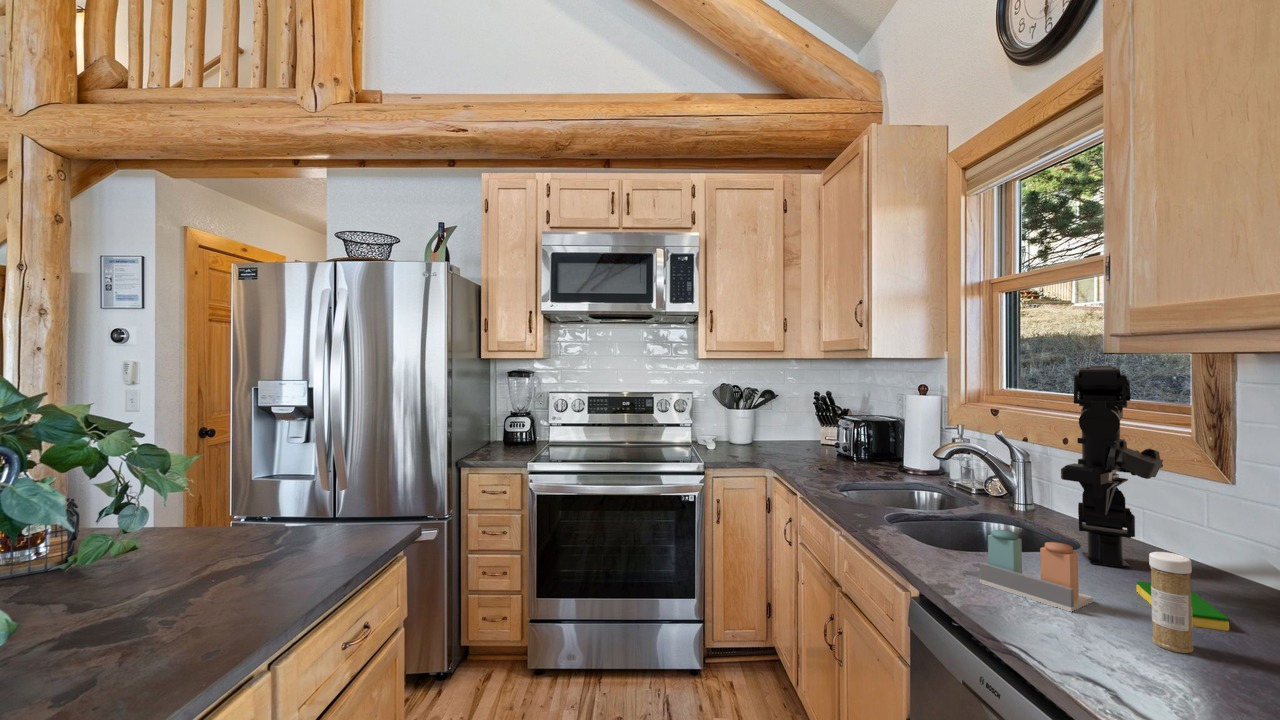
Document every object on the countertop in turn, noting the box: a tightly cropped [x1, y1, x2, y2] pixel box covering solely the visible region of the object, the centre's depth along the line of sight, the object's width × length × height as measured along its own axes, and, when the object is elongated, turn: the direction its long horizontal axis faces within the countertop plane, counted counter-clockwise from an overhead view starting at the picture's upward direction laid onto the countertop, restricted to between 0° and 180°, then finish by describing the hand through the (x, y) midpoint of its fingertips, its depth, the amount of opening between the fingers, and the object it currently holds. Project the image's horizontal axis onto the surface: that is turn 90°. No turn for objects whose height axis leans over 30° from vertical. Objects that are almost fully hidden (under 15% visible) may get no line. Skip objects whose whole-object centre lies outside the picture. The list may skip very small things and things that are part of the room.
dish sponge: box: [1136, 580, 1230, 632], centre depth 94 cm, size 7×14×2 cm, turn 156°
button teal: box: [987, 529, 1023, 574], centre depth 106 cm, size 4×4×9 cm
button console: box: [978, 562, 1094, 613], centre depth 102 cm, size 8×15×4 cm, turn 30°
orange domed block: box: [1039, 541, 1080, 600], centre depth 98 cm, size 4×4×9 cm
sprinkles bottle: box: [1148, 551, 1195, 654], centre depth 82 cm, size 5×5×14 cm
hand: (1102, 514), depth 106 cm, fingers closed
